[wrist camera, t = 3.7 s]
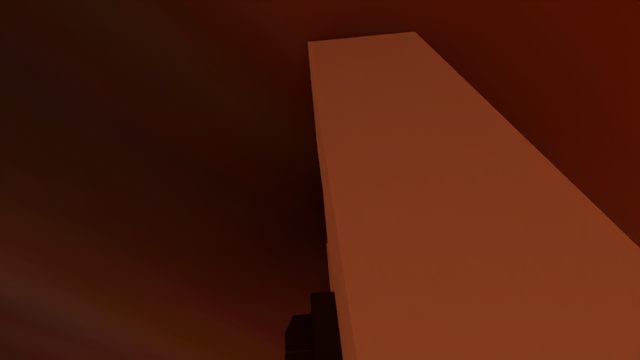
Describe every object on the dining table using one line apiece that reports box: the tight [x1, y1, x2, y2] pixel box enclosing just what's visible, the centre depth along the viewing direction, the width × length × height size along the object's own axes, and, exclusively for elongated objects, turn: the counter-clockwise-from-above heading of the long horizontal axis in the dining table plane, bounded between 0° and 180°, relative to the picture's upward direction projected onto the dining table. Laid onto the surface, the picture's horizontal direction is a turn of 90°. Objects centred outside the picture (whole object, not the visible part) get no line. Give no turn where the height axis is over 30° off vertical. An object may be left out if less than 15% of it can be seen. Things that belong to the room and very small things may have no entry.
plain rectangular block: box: [308, 32, 640, 360], centre depth 11 cm, size 3×12×13 cm, turn 4°
